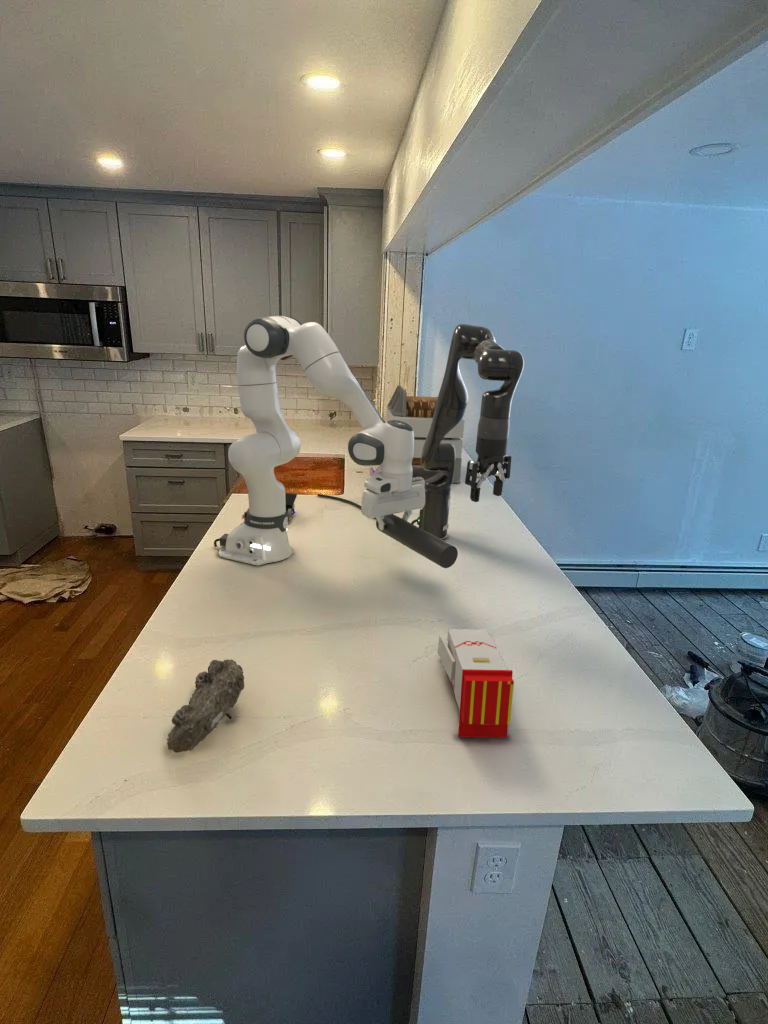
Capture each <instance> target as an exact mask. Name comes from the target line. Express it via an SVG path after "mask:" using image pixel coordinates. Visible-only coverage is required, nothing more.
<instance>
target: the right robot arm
mask: <svg viewBox="0 0 768 1024" xmlns="http://www.w3.org/2000/svg"><path fill="white" fill-rule="evenodd" d="M461 359H465V360H471V361H474V362H475V364H476V365H477V373H478V376H479V377H480V379H482V380H485V381H489V382H490V381H493V382H494V381H495V382H503V383H502V385H501V386H500V387H498V388H496V389H492V390H486V391H485V392H483V394H482V396H481V402H480V403H481V404H480V411H479V412H480V414H479V415H480V416H479V420H478V424H477V433H476V442H475V444H476V445H475V453H476V454H477V459H476V460H474V461H473V460H468V461H467V463H466V465H467V466H466V471H465V479H464V484H465V485H466V486H470V494H469V499H470V501H472V502H474V503H478V502H480V496H481V486H482V484H483V482H485V481H486V480H487V478H489V477H491V476H492V477H493V478H494V482H493V490H492V495H494V496H496V497H501V496H502V493H503V487H504V483H505V482H506V480H507V479H510V477H511V467H512V456H511V455H508V454H507V451H508V444H509V436H510V427H511V426H510V424H511V423H510V419H511V418H510V417H511V411H512V402H513V398H514V394H515V391H516V389H517V386H518V384H519V381H520V379H521V376H522V374H523V371H524V367H525V360H524V359H525V358H524V356H523V354H522V352H520V351H518V350H516V349H505V348H504V347H502V346H501V345H500V344H499V343H497V341H496V338H495V336H494V334H493V332H492V330H491V329H489V328H487V327H485V326H479V325H473V324H467V323H459V324H457V325H456V326H455V328H454V330H453V332H452V336H451V340H450V345H449V350H448V355H447V361H446V366H445V371H444V375H443V377H442V382H441V386H440V389H439V392H438V395H437V397H438V398H437V402H436V406H435V411H434V415H433V419H432V423H431V426H430V429H429V432H428V435H427V438H426V440H425V443H424V446H423V449H422V453H421V465H422V466H421V467H422V469H423V470H424V471H427V472H437V473H435V475H433V476H431V477H428V478H427V479H424V481H425V487H424V488H425V505H424V507H423V508H420V509H419V516H418V517H417V518H416V519H413V520H412V521H411V522H410V523H411V524H413V525H415V524H416V525H417V526H418V527H419V528H420V529H422V530H424V531H426V532H428V533H430V534H432V535H434V536H436V537H438V538H439V539H441V540H443V541H445V540H446V539H447V538H448V529H449V527H450V524H449V517H450V516H449V514H450V504H451V494H452V493H451V491H452V485H453V483H452V482H453V473H454V467H455V458H456V454H455V448H454V446H453V445H452V444H450V443H440V442H441V441H442V439H443V438H444V437H445V436H446V435H447V434H448V433H449V432H450V431H451V430H452V429H453V428H454V427H455V426H456V425H457V424H458V423H459V422H460V421H461V419H464V417H465V416H464V415H465V413H466V409H467V405H468V403H469V393H468V389H467V387H466V384H465V382H464V379H463V376H462V374H461V370H460V360H461ZM317 497H320V498H327V499H332V500H337V501H342V502H345V503H347V504H351V505H353V506H355V507H357V508H358V509H360V510H361V505H360V504H358V503H356V502H354V501H351V500H348V499H345V498H342V497H338V496H334V495H333V496H332V495H328V494H322V493H318V494H317ZM374 519H375V521H377V519H376V518H374Z"/></svg>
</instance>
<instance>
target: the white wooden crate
mask: <svg viewBox="0 0 768 1024" xmlns="http://www.w3.org/2000/svg"><path fill="white" fill-rule="evenodd" d="M407 394H408V393H407V390H406V389H404V388H403V387H402V385H399V384H398V385H397V386H396V388H395V390H394V392H393V394H392V395H391V398H390V400H389V402H388V404H387V405H386V413H385V414H386V415H385V422H387V421H389V420H396V421H397V420H398V421H402V422H405V423H407V424H408V425H410V426H411V427H412V428H413V431H414V457H413V460H412V467H415V466H416V467H417V466H418V467H422V465H421V453H422V449H423V446H424V443H425V440H426V438H427V435H428V432H429V429H430V426H431V423H432V419H433V415H434V411H435V406H436V402H437V398H438V396H415V395H414V396H413V395H412V396H411V395H407ZM464 429H465V419H464V418H462V419H461V421H460V422H459V423H458V424H457V425H456V426H455V427H454V428H453V429H452V430H451V431H450V432H449V433H448V434H447V435H446V436H445V437H444V438H443V439H442V441H441V442H440V443H450V444H452V445H453V446H454V448H455V454H456V458H455V467H454V473H453V482H452V484H455V483H456V484H459V483H461V472H462V461H463V460H462V453H463V442H464V441H463V440H462V439H463V438H464V431H465V430H464Z"/></svg>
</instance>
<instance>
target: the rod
mask: <svg viewBox="0 0 768 1024" xmlns="http://www.w3.org/2000/svg"><path fill="white" fill-rule="evenodd" d="M401 518H402V517H399V516H397V515H396V514H390V515H386V516H384V519H382V520H383V522H384V523H386V524H387V526H386V529H385V530H380V529H379V523H378V521H377V520H375V521H376V522H375V526H376V529H377V530H378V531H379V532H381V533H382V534H384V535H386V536H387V537H389V538H391V539H392V540H394V541H396V542H398V543H399V544H402V545H403V546H405V547H407V548H408V549H410V550H412V552H415V553H416V554H418V555H420V556H422V557H424V558H425V559H427V560H429V561H431V562H432V563H434V564H435V565H437V566H439V567H441V568H443V569H449V568H450V567H452V566H454V564H455V563H456V561H457V559H458V555H459V553H458V547H456V546H455V545H453V544H451V543H449V542H447V541H446V540H441V539H439V538H438V537H436V536H434V535H432V534H430V533H428V532H426V531H424V530H422V529H420V528H419V526H418V525H417V526H416V525H415V524H411V522H409V521H405V520H403V519H401Z"/></svg>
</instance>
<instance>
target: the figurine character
mask: <svg viewBox="0 0 768 1024" xmlns="http://www.w3.org/2000/svg"><path fill="white" fill-rule="evenodd" d="M297 496H298V494H297V493H288V492H287V493H286V492H285V500H286V510H287V518H288V523H289V522H290V520H291V519H292V518H293V515H294V514H296V511H295V508H296V505H295V502H296V498H297Z"/></svg>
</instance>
